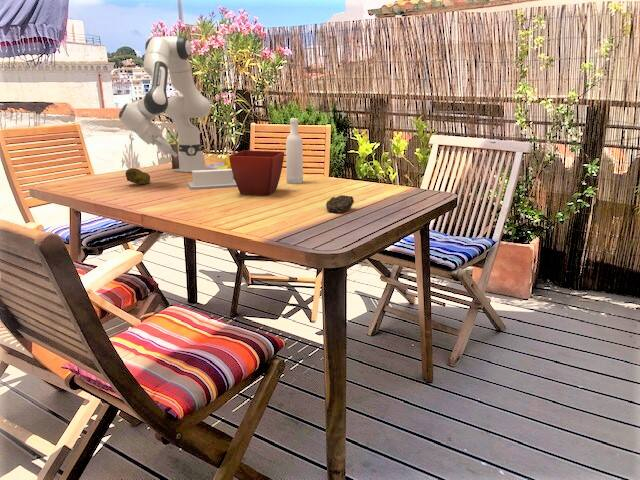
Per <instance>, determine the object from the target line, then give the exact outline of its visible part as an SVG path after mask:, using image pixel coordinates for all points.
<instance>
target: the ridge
mask: <svg viewBox="0 0 640 480" xmlns="http://www.w3.org/2000/svg"><path fill="white" fill-rule="evenodd" d="M191 177H192V178H191V179H192V181H187V182H186V185H187V187H188V188H189V189H190V191H191V190H205V189H207V190H208V189H222V188H223V189H225V188H227V189H228V188H238V187H237V184H236V182H235V179H234V178H233V172H232V169H216V170H209V169H208V170H196V171H192V172H191Z"/></svg>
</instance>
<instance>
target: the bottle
mask: <svg viewBox="0 0 640 480" xmlns="http://www.w3.org/2000/svg"><path fill="white" fill-rule="evenodd" d="M289 125H290V126H289V131H290V133H289V135H288V136H287V137H286V140H285V152H286V153H285V154H286V155H285V156H286V157H285V158H286V159H285V161H286V164H285V165H286V167H285V168H286V169H285V170H286V178H285V180H286V183H287V184H289V185H290V184H291V185H299V184H300V185H301V184H303V182H304V166H303V163H304V159H303V158H304V157H303V156H304V154H303V152H304V151H303V145H304V144H303V138H302V136H301V135H300V134H299V118H298V117H297V118H296V117H291V118H289Z"/></svg>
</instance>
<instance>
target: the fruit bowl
mask: <svg viewBox="0 0 640 480" xmlns="http://www.w3.org/2000/svg"><path fill="white" fill-rule="evenodd" d="M232 154H233V153H230V154H229V155H228V156H226V158H225V159H224V161H222V162H213V163H210V164H207V165H206V167H208V168H209V169H208V170H216V169H232V168H231V164H230V160H229V156H230V155H232ZM233 179H234V176H233Z"/></svg>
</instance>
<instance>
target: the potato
mask: <svg viewBox="0 0 640 480" xmlns="http://www.w3.org/2000/svg"><path fill="white" fill-rule="evenodd" d="M125 178H126V181H127V182H130V183H134V184H137V185H141V186H143V185H146V184H148V183H150V182H151V176H150V174H149V173H146V171H145V172H144V171H142V170H140V169H139V168H137V167H133V168H132V167H131V168H128V169H127V170H126V171H125Z"/></svg>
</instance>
